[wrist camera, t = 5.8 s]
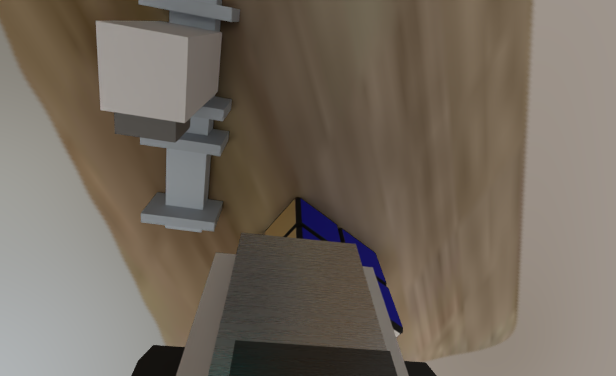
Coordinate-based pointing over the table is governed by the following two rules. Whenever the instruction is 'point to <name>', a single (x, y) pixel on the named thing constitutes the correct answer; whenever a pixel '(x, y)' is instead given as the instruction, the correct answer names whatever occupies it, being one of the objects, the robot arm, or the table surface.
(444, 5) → the table surface
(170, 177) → the grey stepped piece
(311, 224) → the puzzle cube
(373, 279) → the robot arm
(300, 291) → the grey tall block
